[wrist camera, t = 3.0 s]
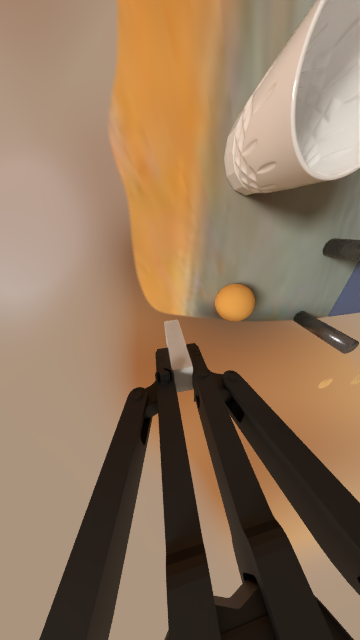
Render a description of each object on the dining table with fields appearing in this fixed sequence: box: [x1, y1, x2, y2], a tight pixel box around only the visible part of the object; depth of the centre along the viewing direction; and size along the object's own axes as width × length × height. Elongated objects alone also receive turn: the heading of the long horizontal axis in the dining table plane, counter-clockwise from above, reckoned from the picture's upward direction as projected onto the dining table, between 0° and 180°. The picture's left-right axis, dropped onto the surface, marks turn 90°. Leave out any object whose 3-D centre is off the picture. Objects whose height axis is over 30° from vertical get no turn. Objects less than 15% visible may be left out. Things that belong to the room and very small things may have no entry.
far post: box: [294, 311, 359, 353], centre depth 26 cm, size 2×2×9 cm
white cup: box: [224, 0, 360, 195], centre depth 12 cm, size 8×8×10 cm
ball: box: [215, 284, 255, 321], centre depth 22 cm, size 6×6×6 cm
